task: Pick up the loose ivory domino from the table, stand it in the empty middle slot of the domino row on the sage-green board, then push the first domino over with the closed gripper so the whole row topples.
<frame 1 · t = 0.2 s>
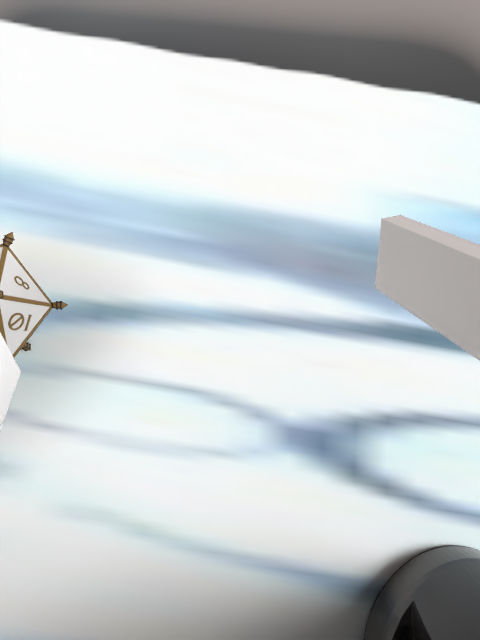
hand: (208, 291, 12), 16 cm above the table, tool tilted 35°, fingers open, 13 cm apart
game die: (7, 315, 26), on the table
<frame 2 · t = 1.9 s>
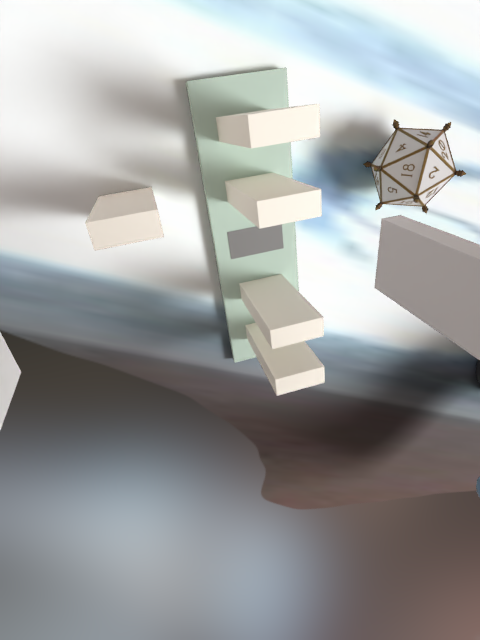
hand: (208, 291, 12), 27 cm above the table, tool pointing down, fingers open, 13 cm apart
domino 1: (265, 327, 45), point 1 cm above the table, touching board
domino 2: (261, 286, 42), point 1 cm above the table, touching board
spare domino: (128, 202, 36), on the table
game die: (386, 164, 40), on the table
board: (253, 237, 40), on the table
domino 5: (243, 125, 34), point 1 cm above the table, touching board
domino 4: (250, 187, 37), point 1 cm above the table, touching board
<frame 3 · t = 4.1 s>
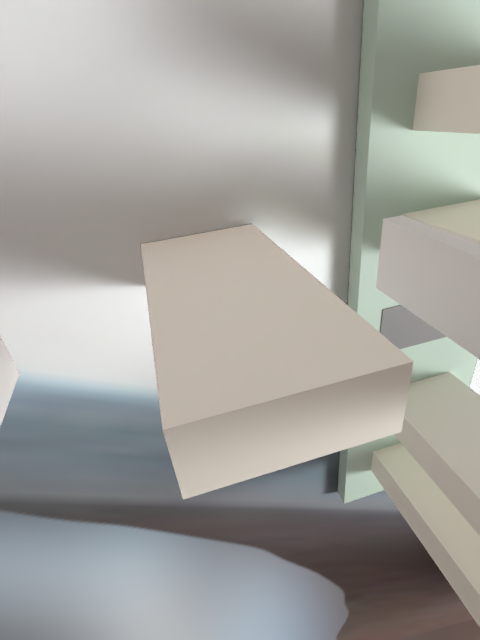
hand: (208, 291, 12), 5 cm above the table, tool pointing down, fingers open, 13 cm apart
domino 1: (403, 451, 27), point 1 cm above the table, touching board
domino 2: (413, 393, 24), point 1 cm above the table, touching board
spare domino: (201, 255, 17), on the table
board: (415, 312, 22), on the table
domino 5: (467, 96, 15), point 1 cm above the table, touching board
domino 4: (444, 225, 18), point 1 cm above the table, touching board, gripper, hand
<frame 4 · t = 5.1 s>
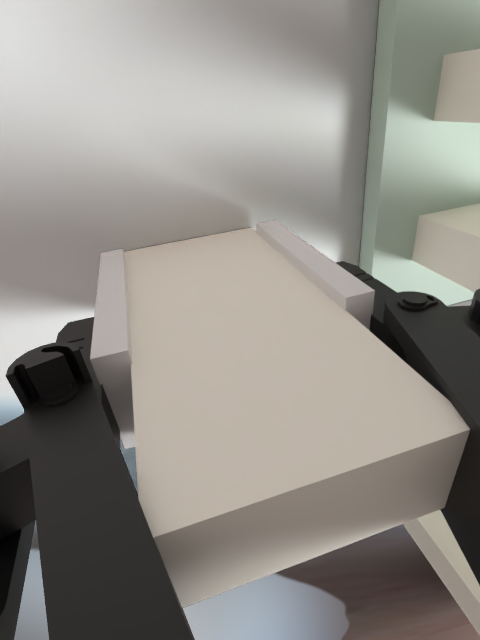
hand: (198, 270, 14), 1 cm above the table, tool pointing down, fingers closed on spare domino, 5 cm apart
domino 1: (410, 465, 25), point 1 cm above the table, touching board
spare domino: (194, 263, 15), on the table, touching gripper
board: (427, 321, 20), on the table
domino 4: (463, 228, 16), point 1 cm above the table, touching board
when the fingers open (3 cm above the table, at t = 11.0 s): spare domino drops 1 cm, resting on board.
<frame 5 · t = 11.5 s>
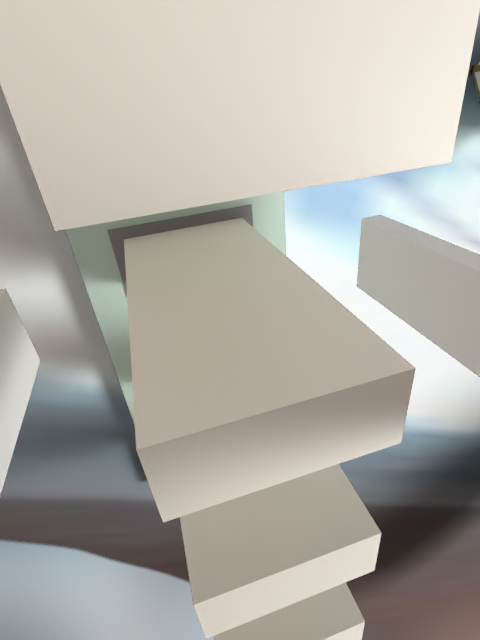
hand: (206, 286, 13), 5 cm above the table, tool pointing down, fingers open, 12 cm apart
domino 1: (220, 427, 22), point 1 cm above the table, touching board
domino 2: (206, 353, 19), point 1 cm above the table, touching board
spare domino: (188, 250, 16), point 1 cm above the table, touching board
board: (184, 244, 17), on the table
domino 4: (161, 104, 13), point 1 cm above the table, touching board
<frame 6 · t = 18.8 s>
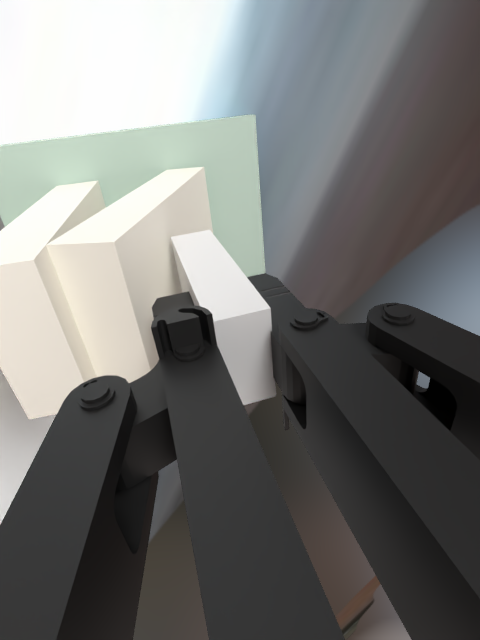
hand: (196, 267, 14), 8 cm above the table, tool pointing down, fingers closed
domino 1: (193, 216, 20), point 1 cm above the table, tilted 24°, touching board
domino 2: (92, 231, 20), point 1 cm above the table, tilted 6°, touching board
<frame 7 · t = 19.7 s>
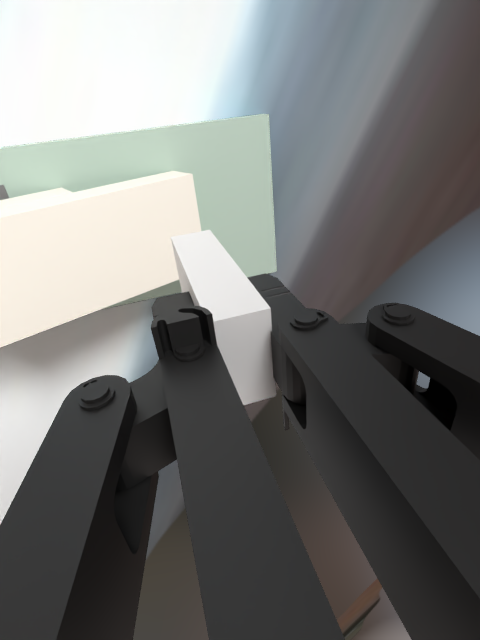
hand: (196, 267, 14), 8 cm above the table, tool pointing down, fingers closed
domino 1: (190, 221, 20), point 2 cm above the table, tilted 69°, touching board, domino 2
domino 2: (83, 240, 19), point 2 cm above the table, tilted 69°, touching board, domino 1, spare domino
board: (2, 244, 20), on the table
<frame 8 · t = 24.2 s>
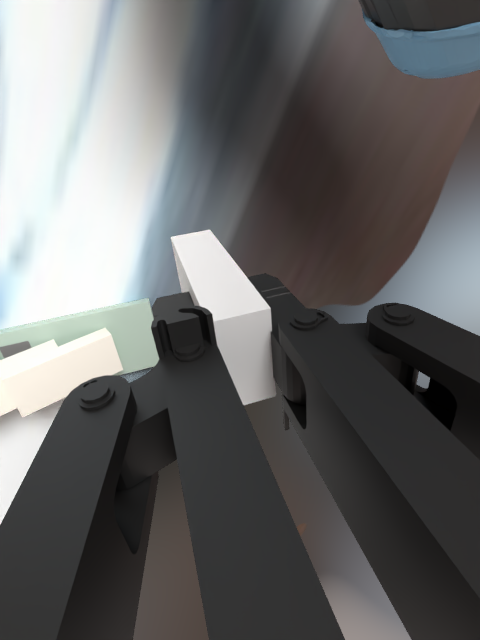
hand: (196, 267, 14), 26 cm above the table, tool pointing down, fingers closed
domino 1: (114, 348, 42), point 2 cm above the table, tilted 69°, touching board, domino 2
domino 2: (63, 360, 41), point 2 cm above the table, tilted 69°, touching board, domino 1, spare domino
board: (26, 360, 42), on the table
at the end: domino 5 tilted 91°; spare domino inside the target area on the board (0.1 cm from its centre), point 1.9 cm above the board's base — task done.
